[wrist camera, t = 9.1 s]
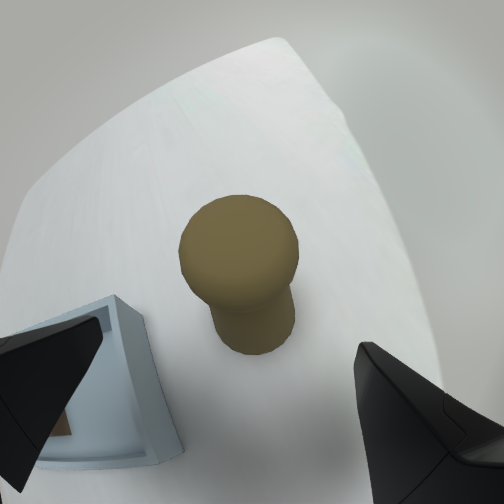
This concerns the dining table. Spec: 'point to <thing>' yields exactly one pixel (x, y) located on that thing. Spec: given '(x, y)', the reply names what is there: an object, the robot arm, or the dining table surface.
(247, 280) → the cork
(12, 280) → the dining table surface
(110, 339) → the tote
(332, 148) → the dining table surface
